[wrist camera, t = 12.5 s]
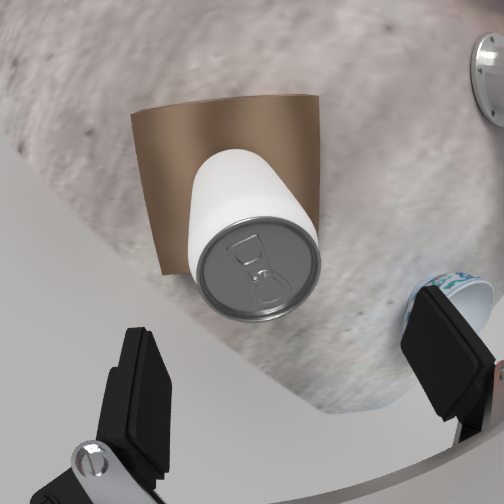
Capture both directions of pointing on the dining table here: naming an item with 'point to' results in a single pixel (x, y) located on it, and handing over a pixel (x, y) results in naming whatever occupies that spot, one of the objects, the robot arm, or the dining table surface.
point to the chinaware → (461, 297)
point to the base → (217, 140)
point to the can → (249, 240)
